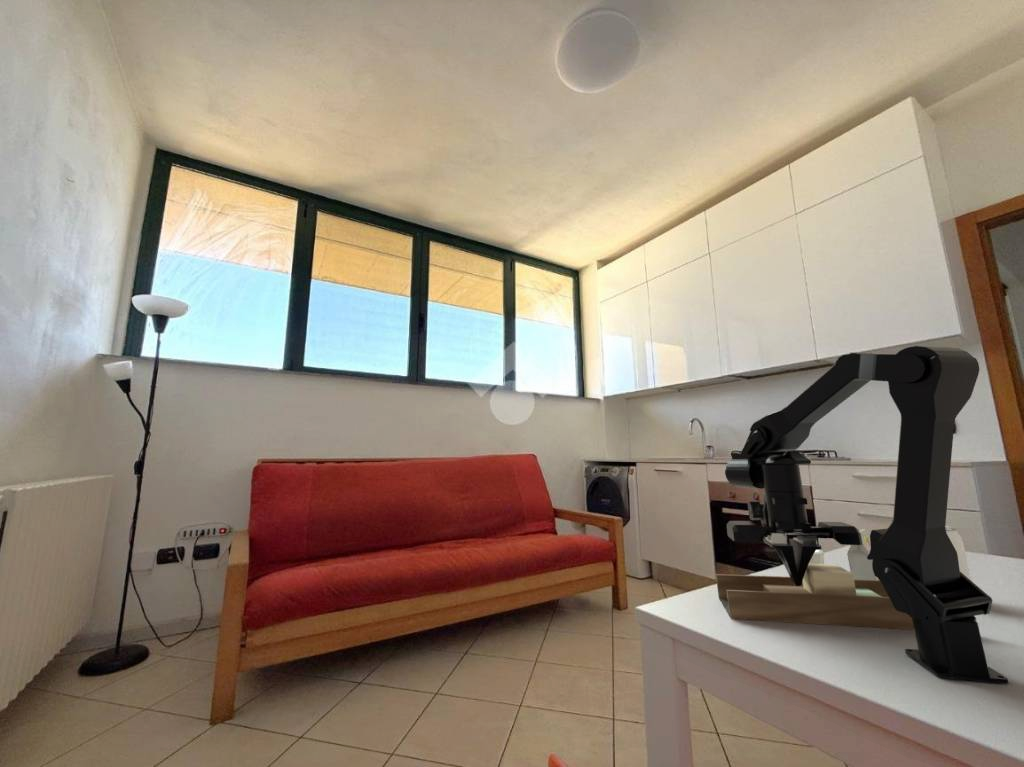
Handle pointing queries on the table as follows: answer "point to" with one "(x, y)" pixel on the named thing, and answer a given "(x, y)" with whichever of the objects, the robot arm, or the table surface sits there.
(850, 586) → the maple block
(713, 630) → the table surface
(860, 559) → the white gable top carton
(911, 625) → the tray
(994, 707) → the table surface
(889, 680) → the table surface
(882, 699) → the table surface
